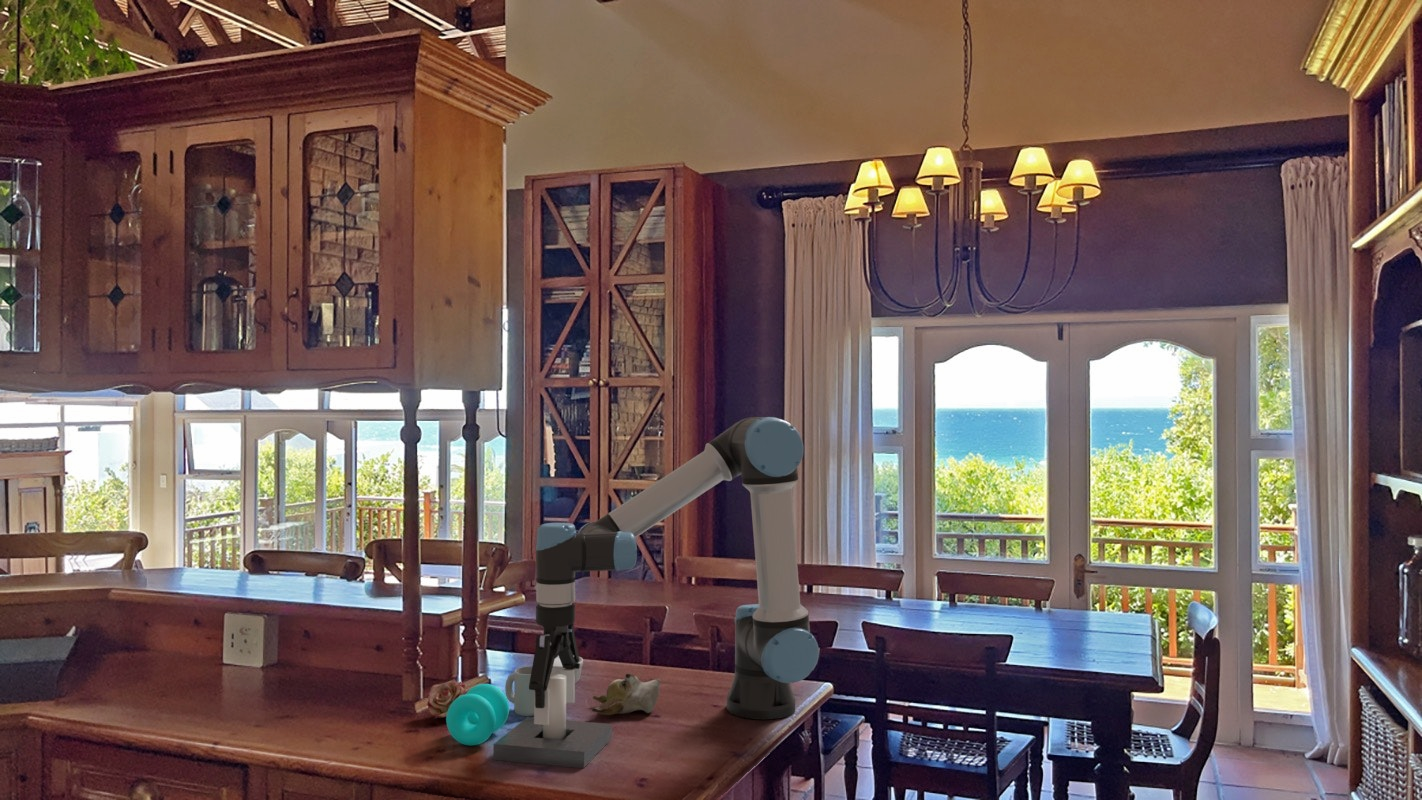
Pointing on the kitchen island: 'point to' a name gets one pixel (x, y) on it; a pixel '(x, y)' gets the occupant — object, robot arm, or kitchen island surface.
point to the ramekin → (558, 666)
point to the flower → (444, 697)
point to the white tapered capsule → (556, 708)
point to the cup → (521, 691)
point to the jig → (553, 744)
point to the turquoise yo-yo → (477, 714)
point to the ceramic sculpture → (628, 696)
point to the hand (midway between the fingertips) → (555, 712)
